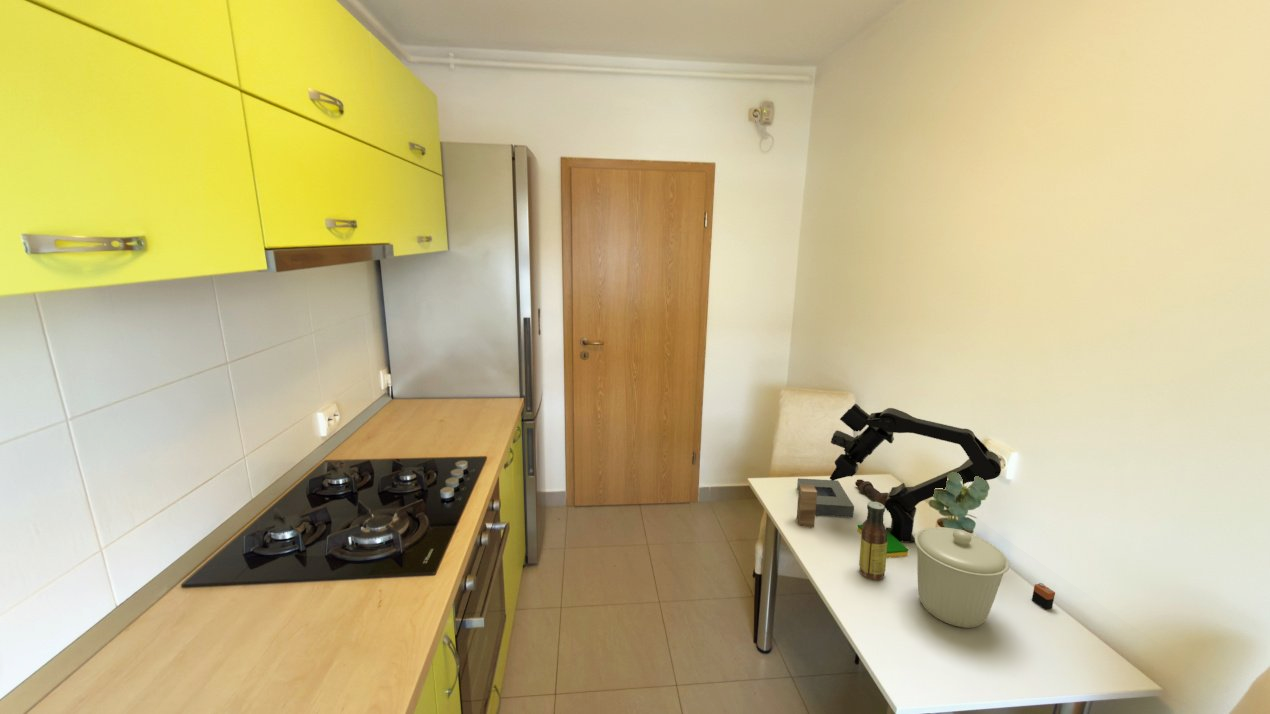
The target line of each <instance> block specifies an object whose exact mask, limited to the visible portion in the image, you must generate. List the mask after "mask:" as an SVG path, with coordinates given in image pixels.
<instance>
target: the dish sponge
mask: <svg viewBox="0 0 1270 714" xmlns="http://www.w3.org/2000/svg"><path fill="white" fill-rule="evenodd" d="M862 524H863V523H862ZM862 524H857V532H858V533H859V534H860V535H861V534H862ZM886 531H887V530H886ZM901 556H903V557H908V556H909V548H908V547H907V546H906V545H904V544H903V543H902V542H901V541H898V540H897V539H896V538H895V537H894V536H893V535H892V534H890V533H889V532H888V531H887V553H886V559H888V558H889V557H892V558H901ZM889 559H890V558H889Z"/></svg>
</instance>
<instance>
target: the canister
mask: <svg viewBox="0 0 1270 714" xmlns="http://www.w3.org/2000/svg"><path fill="white" fill-rule="evenodd" d="M914 538H915V542H914V543H915V545H916V547H917V568H916V569H917V592H918V597H919V600H920V602H921V604H922V605H923V607H924V608H925V609H926V610H927V612H928V613H930V614H931V616H933V617H935V618H936V619H939V620H940V621H942V622H943V623H946V624H949V625H952V626H954V627H955V626H956V627H958V628H969V629H970V628H976V627H978V626H981V625H982V624H983V623H984V622H985V621H986V620H987V619H988V616H989V614H990V612H991V609H992V606H993V604H994V602H995V599H996V597H997V593H998V590H999V588H1000V584H1001V582H1002V579H1003V576H1004V574H1005V573H1007V572H1008V571H1009V569H1010V562H1009V561H1010V560H1009V559H1008V558H1007V556H1006V555H1005V554H1004V552H1002V551H1001V550H1000V549H999V548H997V547H996V545H993V544H992V543H991V542H989V541H988V540H985V539H984V538H982V537H980V536H978V535H975V534H973V533H971V532H968V531H966V530H963V529H958V528H953V527H942V526H938V527H928V528H924V529H921V530H919V531H918V532H916V534H915V536H914Z"/></svg>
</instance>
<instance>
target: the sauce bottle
mask: <svg viewBox="0 0 1270 714" xmlns="http://www.w3.org/2000/svg"><path fill="white" fill-rule="evenodd" d="M866 508H867V516H866V519H865V520H864V521H863V523H862V534H860V548H859V563H858V567H859V571H860V573H861V575H862V576H864V577H866V578H868V579H870V580H877V581H878V580H882V579H884V577H885V573H886V567H887V563H886V562H887V558H886V553H887V531H886V527H885V523H884V513H885V512H886V511H885V509H886V508H885V506H884V505H883V504H881V503H879V502H875V501H869V502H868V503H867V506H866Z"/></svg>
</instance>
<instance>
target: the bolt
mask: <svg viewBox="0 0 1270 714" xmlns="http://www.w3.org/2000/svg"><path fill="white" fill-rule="evenodd" d="M854 484H855V486H856V487H857V488H858V489H859V491H860V493H861V494H862V495H866V494H867V495H868V496H869V497H870V498H872V499H873V500H874V502H879V503H881V504H883V505H884V506H885V501H886V499H887V496H888V494H889V492H880V491H879V490H878V489H876V488H874V485H873V484H872V482H870V481H867V480H864V479H856V481H855V483H854ZM867 495H866V496H867Z"/></svg>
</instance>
